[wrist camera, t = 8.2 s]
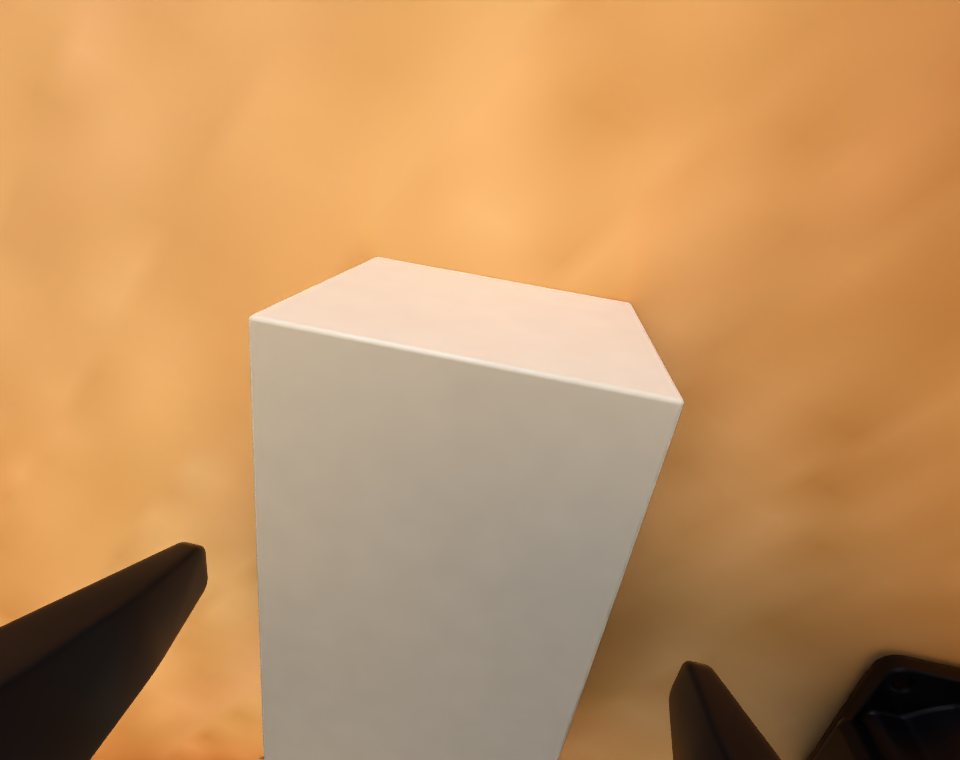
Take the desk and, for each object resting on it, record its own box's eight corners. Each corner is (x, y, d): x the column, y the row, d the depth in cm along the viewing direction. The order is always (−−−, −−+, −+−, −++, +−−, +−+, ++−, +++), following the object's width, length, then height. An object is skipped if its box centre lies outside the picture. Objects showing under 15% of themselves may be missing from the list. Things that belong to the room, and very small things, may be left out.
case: (375, 255, 11) (245, 315, 6) (632, 303, 10) (686, 401, 6) (350, 625, 15) (264, 814, 11) (528, 668, 15) (516, 883, 10)
